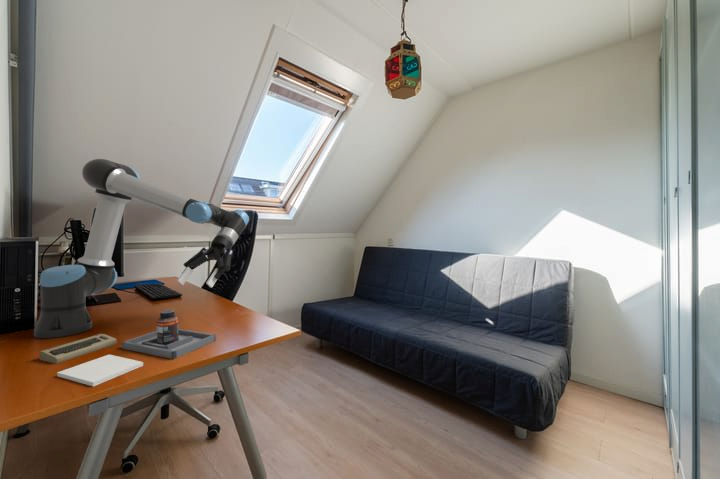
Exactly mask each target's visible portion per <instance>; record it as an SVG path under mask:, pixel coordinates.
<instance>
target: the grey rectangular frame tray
mask: <svg viewBox="0 0 720 479" xmlns="http://www.w3.org/2000/svg"><path fill="white" fill-rule="evenodd" d="M178 333H179V341H176V342H173V343H171V344H168V345H161V344H157V330H155V331H153V332H149V333H146V334H143V335H140V336H136V337H133V338H130V339H127V340H124V341H121V349H123V350H129V351H133V352H137V353H141V354H147V355H152V356H157V357H161V358H165V359H170V360H175V359H177V358H180V357H182V356H184V355H187V354H189V353H191V352H193V351H195V350H198V349H200V348H203V347H205V346H207V345H210V344H212V343H214V342H216V341H217V334H213V333H207V332H201V331H196V330H195V331H194V330H188V329H182V328H178Z"/></svg>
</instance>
